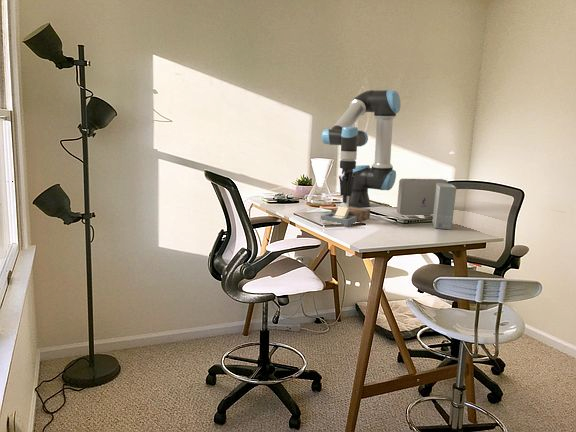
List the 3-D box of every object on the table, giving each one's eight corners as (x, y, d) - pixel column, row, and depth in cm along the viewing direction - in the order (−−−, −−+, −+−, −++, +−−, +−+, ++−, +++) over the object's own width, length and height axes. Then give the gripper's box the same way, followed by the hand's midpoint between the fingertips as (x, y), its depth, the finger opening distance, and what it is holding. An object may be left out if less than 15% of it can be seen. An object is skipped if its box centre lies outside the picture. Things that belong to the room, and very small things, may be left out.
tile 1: (330, 217, 218) (330, 222, 219) (340, 218, 215) (339, 223, 216) (335, 215, 222) (335, 220, 223) (344, 217, 220) (344, 222, 220)
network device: (401, 219, 237) (405, 180, 233) (393, 215, 245) (397, 177, 241) (446, 218, 243) (450, 180, 239) (437, 215, 251) (441, 178, 247)
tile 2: (340, 209, 226) (338, 206, 224) (349, 210, 223) (348, 207, 221) (336, 217, 224) (334, 214, 222) (345, 219, 221) (344, 216, 219)
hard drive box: (451, 230, 216) (456, 187, 212) (434, 228, 218) (439, 186, 214) (447, 223, 231) (452, 183, 227) (431, 222, 233) (435, 182, 229)
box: (330, 219, 229) (330, 212, 228) (356, 223, 221) (357, 216, 220) (320, 222, 220) (320, 215, 220) (347, 227, 213) (347, 219, 212)
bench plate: (344, 215, 241) (345, 205, 240) (369, 219, 234) (370, 209, 233) (330, 219, 229) (331, 209, 228) (356, 223, 221) (357, 213, 220)
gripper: (346, 158, 227) (344, 206, 232) (334, 160, 216) (332, 210, 221) (361, 159, 223) (358, 208, 228) (349, 161, 212) (346, 212, 217)
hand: (345, 209), depth 225 cm, fingers closed
